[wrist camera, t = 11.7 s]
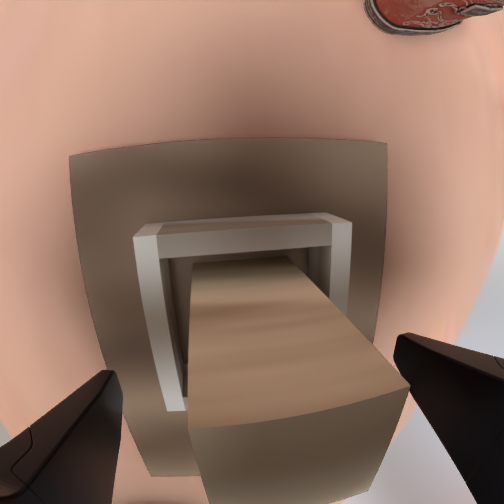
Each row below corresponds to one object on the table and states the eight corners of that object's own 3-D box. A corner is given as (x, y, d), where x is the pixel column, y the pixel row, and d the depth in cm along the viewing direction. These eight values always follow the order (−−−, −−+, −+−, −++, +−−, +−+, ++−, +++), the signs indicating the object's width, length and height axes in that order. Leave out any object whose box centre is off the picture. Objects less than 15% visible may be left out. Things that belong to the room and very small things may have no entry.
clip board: (343, 440, 19) (361, 473, 16) (152, 465, 17) (149, 504, 14) (375, 143, 14) (419, 141, 10) (77, 156, 12) (41, 154, 8)
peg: (285, 336, 14) (367, 491, 6) (201, 345, 14) (216, 522, 5) (286, 255, 13) (410, 385, 5) (192, 262, 13) (187, 428, 4)
